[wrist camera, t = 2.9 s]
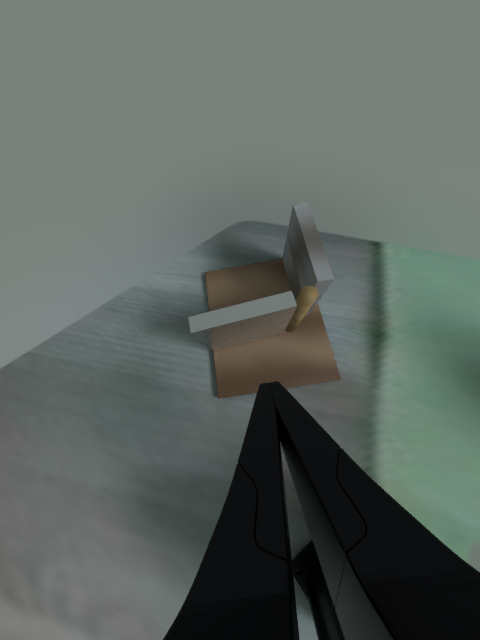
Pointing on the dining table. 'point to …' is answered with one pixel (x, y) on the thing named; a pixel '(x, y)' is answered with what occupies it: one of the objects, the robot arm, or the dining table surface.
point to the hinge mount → (303, 328)
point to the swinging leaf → (244, 321)
